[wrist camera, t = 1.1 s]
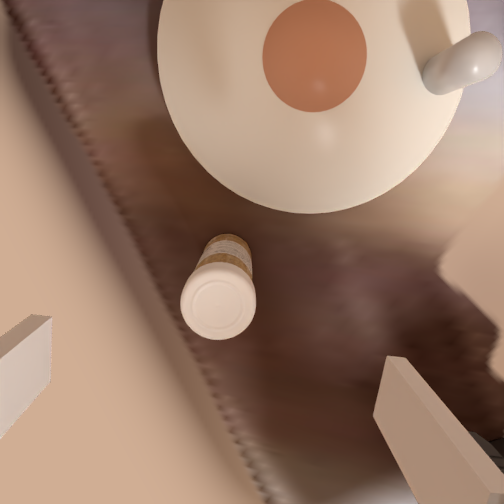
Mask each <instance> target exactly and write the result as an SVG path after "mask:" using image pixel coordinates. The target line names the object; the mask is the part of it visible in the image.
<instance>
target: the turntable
mask: <svg viewBox="0 0 504 504" xmlns="http://www.w3.org/2000/svg"><path fill="white" fill-rule="evenodd" d="M157 60H158V68H159V77H160V83H161V87H162V91H163V95H164V99H165V103H166V105H167V108H168V111H169V113H170V116H171V119H172V121H173V123H174V125H175V127H176V129H177V131H178V133H179V135H180V137H181V138H182V140H183V142H184V143H185V145H186V146H187V147H188V149H189V150H190V152H191V153H192V155H193V156H194V157H195V158H196V160H197V161H198V162H199V163H200V164H201V165H202V166H203V167H204V168H205V170H206V171H207V172H208V173H210V174H211V175H212V176H213V177H214V178H215V179H217V180H218V181H219V182H220V183H221V184H222V185H224V186H225V187H227V188H229V189H230V190H232V191H233V192H235V193H236V194H238V195H239V196H241V197H244V198H246V199H248V200H250V201H252V202H254V203H256V204H259V205H262V206H265V207H268V208H271V209H275V210H280V211H286V212H291V213H306V214H315V213H328V212H334V211H339V210H343V209H348V208H351V207H354V206H357V205H360V204H363V203H366V202H368V201H370V200H372V199H374V198H376V197H378V196H380V195H382V194H384V193H386V192H387V191H389V190H390V189H392V188H393V187H395V186H396V185H398V184H399V183H401V182H402V181H403V180H404V179H405V178H407V177H408V176H409V175H410V174H411V173H412V172H414V171H415V170H416V169H417V168H418V167H419V166H420V164H421V163H422V162H423V161H424V160H425V159H426V158H427V157H428V156H429V155H430V153H431V152H432V151H433V149H434V148H435V146H436V145H437V144H438V142H439V141H440V140H441V138H442V137H443V135H444V133H445V131H446V129H447V128H448V126H449V124H450V122H451V120H452V118H453V116H454V114H455V111H456V109H457V106H458V104H459V101H460V99H461V95H462V92H463V88H464V87H466V86H469V85H472V84H474V83H477V82H480V81H482V80H485V79H487V78H489V77H490V76H492V75H493V74H494V73H495V72H496V70H497V69H498V67H499V65H500V63H501V60H502V47H501V44H500V42H499V40H498V39H497V38H496V37H495V36H494V35H493V34H491V33H489V32H485V31H480V32H475V33H473V34H471V33H470V21H469V10H468V6H467V1H466V0H163V4H162V8H161V12H160V19H159V27H158V35H157Z"/></svg>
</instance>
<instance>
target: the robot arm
mask: <svg viewBox="0 0 504 504" xmlns="http://www.w3.org/2000/svg"><path fill="white" fill-rule="evenodd" d="M51 343H52V317H50V316H42V315H33V314H31V315H30V316H29V317H27V318H26V319H24V320H23V321H22V322H20V323H19V324H18V325H16V326H15V327H14V328H12V329H11V330H9V331H8V332H7V333H5V334H4V335H2V336H1V337H0V438H1V437H2V436H3V435H4V434H5V433H6V432H7V431H8V430H9V428H10V427H11V426H12V425H13V424H14V423H15V422H16V420H17V419H18V418H19V417H20V416H21V415H22V413H23V412H24V411H25V410H26V409H27V408H28V406H29V405H30V404H31V403H32V402H33V401H34V400H35V398H36V397H37V396H38V395H39V394H40V393H41V392H42V391H43V389H44V388H45V387H46V386H47V385H48V384H49V383H50V380H51V379H50V378H51ZM373 417H374V419H375V421H376V423H377V425H378V427H379V429H380V431H381V433H382V435H383V437H384V438H385V440H386V442H387V444H388V446H389V448H390V450H391V452H392V454H393V456H394V458H395V460H396V462H397V463H398V465H399V467H400V469H401V471H402V473H403V475H404V477H405V479H406V481H407V483H408V485H409V487H410V488H411V490H412V492H413V494H414V496H415V498H416V500H417V502H418V504H504V438H503V439H499V440H495V441H492V442H488V441H486V440H485V439H484V438H482V437H481V436H480V435H478V434H477V433H476V432H470V431H467V430H466V429H465V428H464V427H463V425H462V424H461V423H460V422H459V421H458V420H457V418H456V417H455V416H454V415H453V414H452V412H451V411H450V410H449V409H448V408H447V406H446V405H445V404H444V403H443V402H442V401H441V399H440V398H439V397H438V396H437V395H436V393H435V392H434V391H433V390H432V389H431V387H430V386H429V385H428V384H427V383H426V382H425V380H424V379H423V378H422V377H421V376H420V374H419V373H418V372H417V371H416V370H415V368H414V367H413V366H412V365H411V364H410V363H409V361H408V360H407V359H406V358H404V357H395V356H387V357H386V361H385V366H384V370H383V374H382V379H381V383H380V387H379V391H378V396H377V400H376V404H375V409H374V413H373Z"/></svg>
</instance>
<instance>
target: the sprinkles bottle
mask: <svg viewBox="0 0 504 504" xmlns="http://www.w3.org/2000/svg"><path fill="white" fill-rule="evenodd" d="M251 257H252V255H251V251H250V249H249V247H248V245H247V243H246V242H245V241H244V240H243V239H242V238H240V237H238V236H236V235H233V234H221V235H218V236H216V237H214V238H213V239H211V240H210V242H208V244H207V245H206V247H205V249H204V252H203V254H202V256H201V258H200V260H199V262H198V264H197V266H196V268H195V270H194V272H193V273H192V274H191V276H190V277H189V278H188V280H187V282H186V284H185V286H184V288H183V291H182V295H181V300H180V307H181V312H182V315H183V318H184V320H185V322H186V323H187V325H188V326H189V327H190V328H191V329H192V330H193V331H194V332H195V333H197V334H199V335H200V336H202V337H205V338H208V339H213V340H223V339H228V338H232V337H234V336H236V335H238V334H240V333H241V332H243V331H244V330H245V329H246V328H247V327H248V325H249V324H250V323H251V321H252V319H253V316H254V314H255V309H256V293H255V288H254V285H253V282H252V262H251V261H252V260H251Z"/></svg>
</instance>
